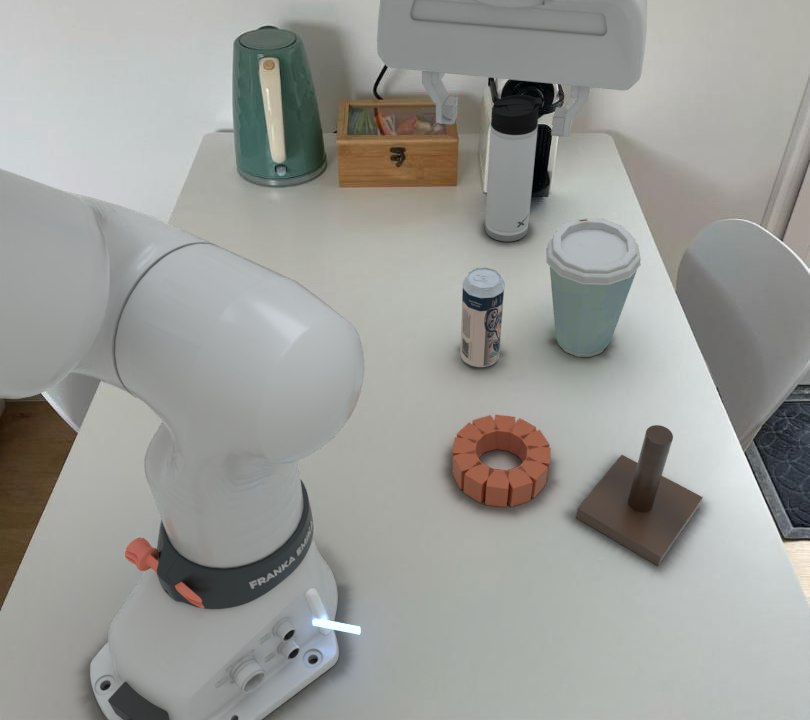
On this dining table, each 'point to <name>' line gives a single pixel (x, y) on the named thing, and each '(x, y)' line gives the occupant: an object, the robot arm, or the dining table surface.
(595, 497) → the stand
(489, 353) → the beer can
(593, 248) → the disposable coffee cup
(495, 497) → the ring
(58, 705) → the dining table surface
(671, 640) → the dining table surface
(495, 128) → the white water bottle
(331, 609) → the robot arm
